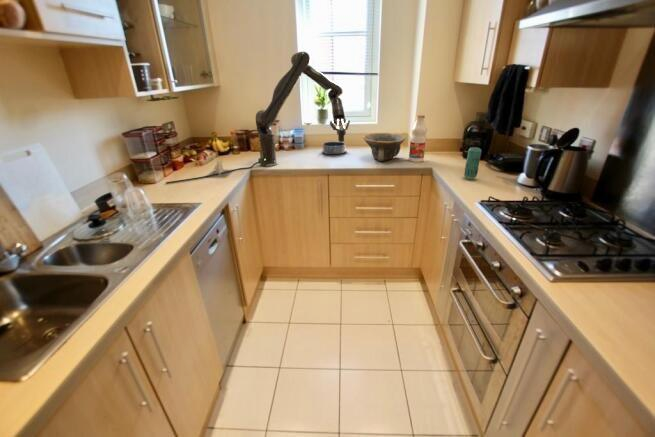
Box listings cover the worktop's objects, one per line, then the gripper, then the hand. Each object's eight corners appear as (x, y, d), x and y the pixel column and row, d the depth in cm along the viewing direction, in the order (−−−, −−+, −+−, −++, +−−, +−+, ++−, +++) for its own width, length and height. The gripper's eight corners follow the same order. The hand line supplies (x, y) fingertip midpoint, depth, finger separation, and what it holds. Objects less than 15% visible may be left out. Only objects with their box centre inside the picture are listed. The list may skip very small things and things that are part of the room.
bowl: (394, 166, 193) (396, 141, 187) (356, 161, 206) (356, 138, 199) (409, 156, 214) (411, 134, 207) (373, 152, 226) (374, 131, 220)
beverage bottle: (460, 178, 170) (466, 140, 161) (470, 176, 172) (476, 139, 164) (469, 181, 164) (476, 143, 156) (479, 179, 166) (486, 141, 158)
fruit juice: (425, 159, 206) (430, 114, 194) (421, 162, 199) (426, 116, 187) (411, 157, 211) (415, 114, 199) (406, 161, 203) (410, 116, 191)
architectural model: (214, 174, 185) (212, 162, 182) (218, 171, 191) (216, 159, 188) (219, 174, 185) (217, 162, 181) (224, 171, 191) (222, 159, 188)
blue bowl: (330, 156, 220) (330, 147, 218) (318, 151, 233) (318, 143, 231) (350, 152, 228) (350, 144, 225) (337, 148, 241) (337, 140, 238)
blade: (339, 141, 203) (339, 125, 198) (338, 140, 207) (338, 124, 203) (344, 141, 203) (344, 125, 199) (342, 140, 208) (342, 124, 203)
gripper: (328, 109, 203) (331, 131, 197) (349, 108, 205) (353, 130, 199) (327, 116, 210) (330, 138, 204) (347, 115, 212) (351, 137, 206)
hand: (341, 134), depth 201 cm, fingers closed on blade, 3 cm apart
